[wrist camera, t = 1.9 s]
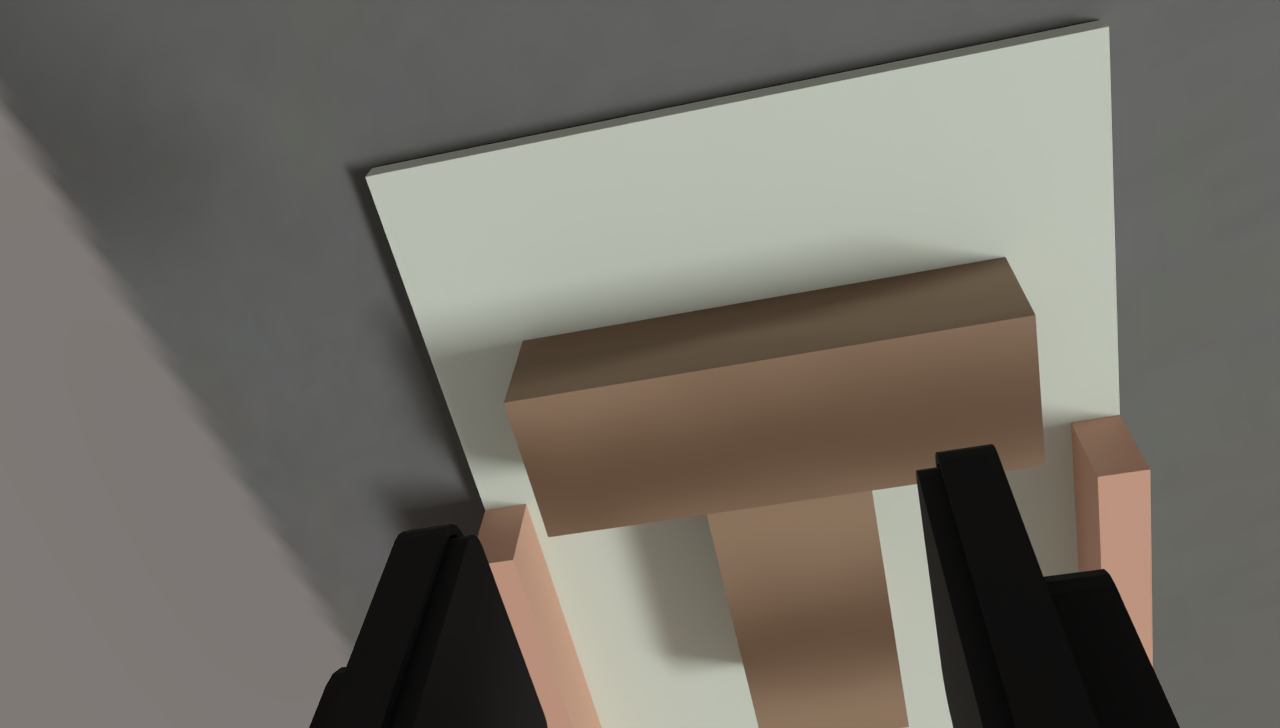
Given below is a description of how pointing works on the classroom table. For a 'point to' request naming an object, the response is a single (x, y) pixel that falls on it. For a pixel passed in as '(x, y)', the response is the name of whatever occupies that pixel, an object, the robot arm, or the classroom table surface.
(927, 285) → the t block
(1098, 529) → the pocket
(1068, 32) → the mat
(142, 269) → the classroom table surface
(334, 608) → the classroom table surface
